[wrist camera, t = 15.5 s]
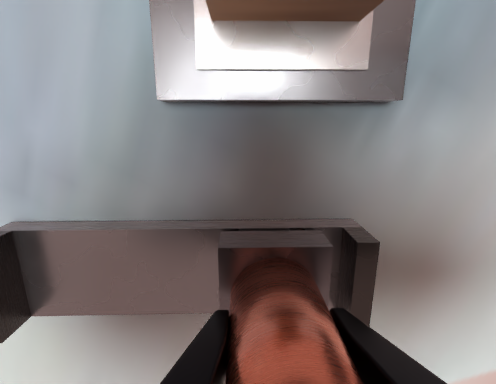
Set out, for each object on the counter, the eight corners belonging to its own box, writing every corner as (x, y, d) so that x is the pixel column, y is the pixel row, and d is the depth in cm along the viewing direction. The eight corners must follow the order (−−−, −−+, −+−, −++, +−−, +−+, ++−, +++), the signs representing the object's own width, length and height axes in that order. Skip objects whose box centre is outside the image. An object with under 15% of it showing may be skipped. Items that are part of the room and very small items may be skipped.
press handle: (321, 230, 11) (430, 377, 5) (314, 315, 12) (398, 532, 6) (220, 231, 11) (193, 382, 4) (223, 317, 12) (202, 540, 5)
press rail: (352, 218, 12) (379, 242, 10) (344, 296, 13) (368, 335, 11) (11, 222, 12) (-48, 247, 9) (29, 301, 13) (-20, 343, 10)
